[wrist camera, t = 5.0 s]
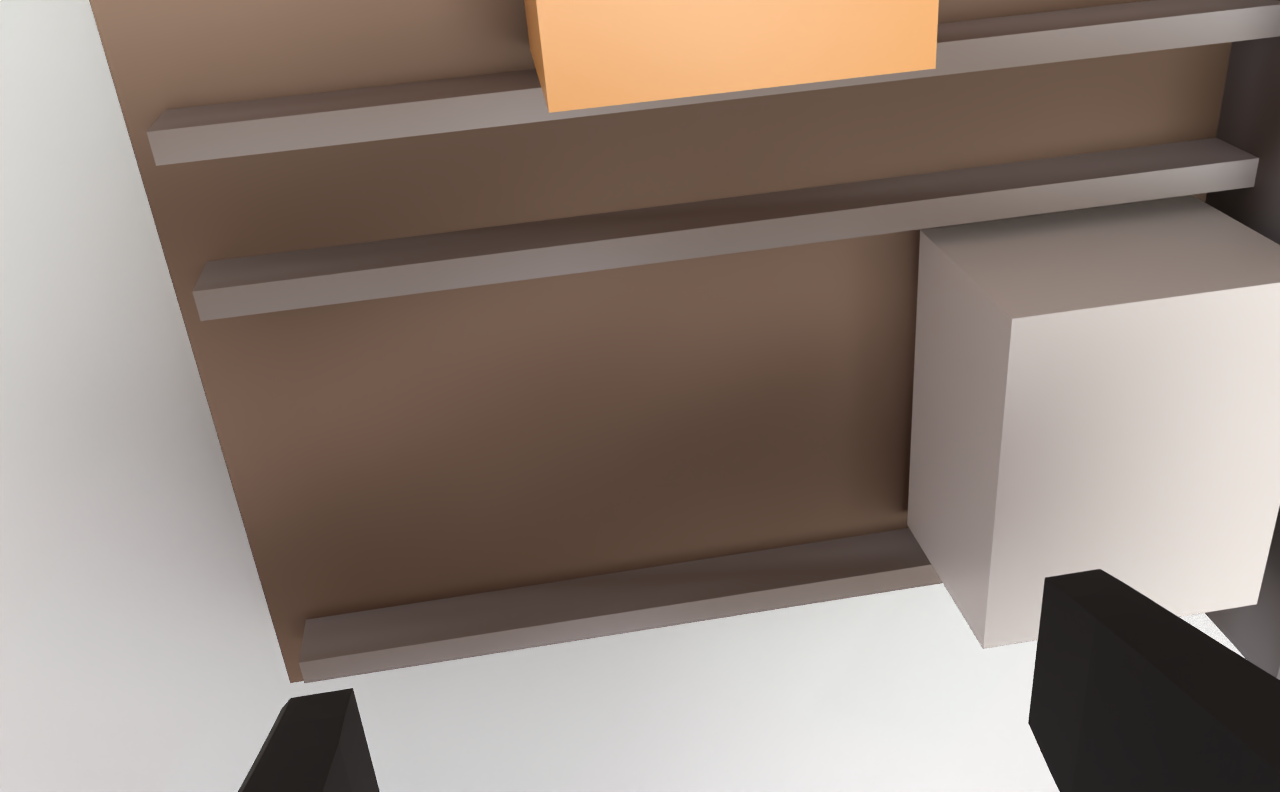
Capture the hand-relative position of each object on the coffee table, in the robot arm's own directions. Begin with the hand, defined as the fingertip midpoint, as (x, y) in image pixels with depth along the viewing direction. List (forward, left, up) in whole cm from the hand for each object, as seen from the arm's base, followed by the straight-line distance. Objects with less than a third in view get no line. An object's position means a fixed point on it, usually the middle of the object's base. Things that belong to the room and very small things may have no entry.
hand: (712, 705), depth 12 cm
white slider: (0, -6, -6) cm, 8 cm away
